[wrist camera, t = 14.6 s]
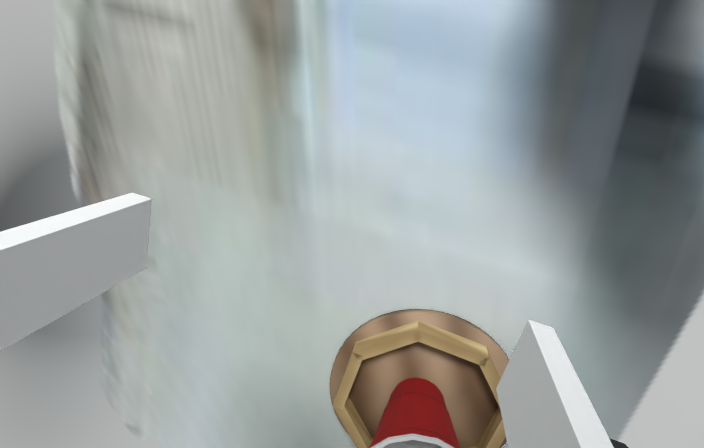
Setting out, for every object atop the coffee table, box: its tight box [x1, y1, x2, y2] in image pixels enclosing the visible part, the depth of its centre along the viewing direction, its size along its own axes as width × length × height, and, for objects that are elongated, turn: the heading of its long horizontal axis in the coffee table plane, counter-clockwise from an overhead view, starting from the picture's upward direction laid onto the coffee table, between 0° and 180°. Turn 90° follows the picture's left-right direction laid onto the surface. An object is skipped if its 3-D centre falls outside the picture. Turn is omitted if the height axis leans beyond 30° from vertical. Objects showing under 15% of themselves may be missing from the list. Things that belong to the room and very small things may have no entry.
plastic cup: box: [369, 377, 460, 448], centre depth 39 cm, size 11×11×12 cm
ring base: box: [330, 309, 509, 448], centre depth 44 cm, size 21×21×3 cm
